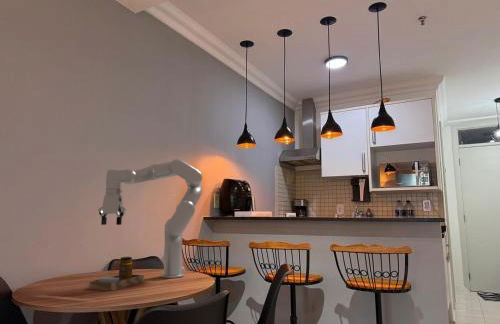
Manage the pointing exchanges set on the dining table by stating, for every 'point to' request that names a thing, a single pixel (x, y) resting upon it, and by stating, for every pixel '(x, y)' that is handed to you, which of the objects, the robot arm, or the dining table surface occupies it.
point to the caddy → (116, 283)
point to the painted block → (108, 279)
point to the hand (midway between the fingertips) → (111, 224)
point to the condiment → (125, 268)
